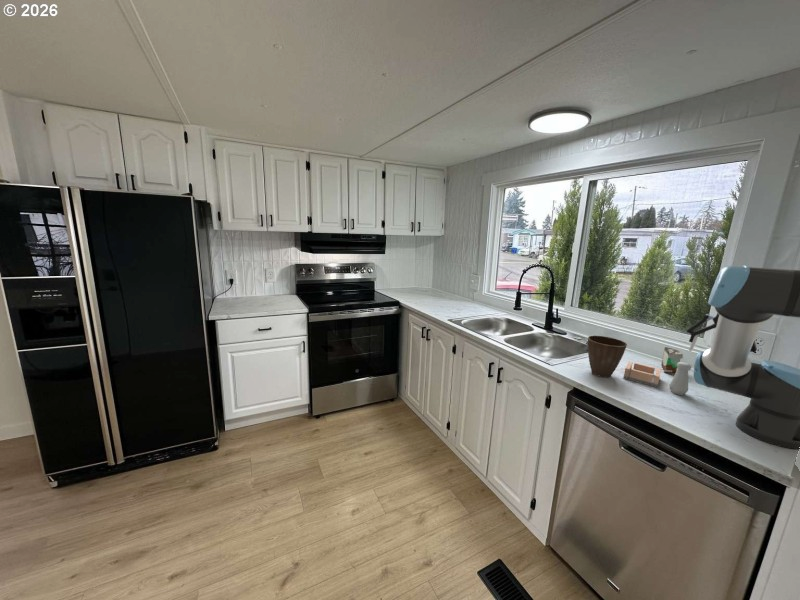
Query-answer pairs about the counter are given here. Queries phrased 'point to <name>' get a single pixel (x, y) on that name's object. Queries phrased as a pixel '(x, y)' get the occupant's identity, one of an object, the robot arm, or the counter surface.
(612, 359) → the plant pot
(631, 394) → the counter surface
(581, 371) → the counter surface
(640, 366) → the socket board
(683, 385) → the salt shaker
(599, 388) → the counter surface
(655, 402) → the counter surface
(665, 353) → the food container
